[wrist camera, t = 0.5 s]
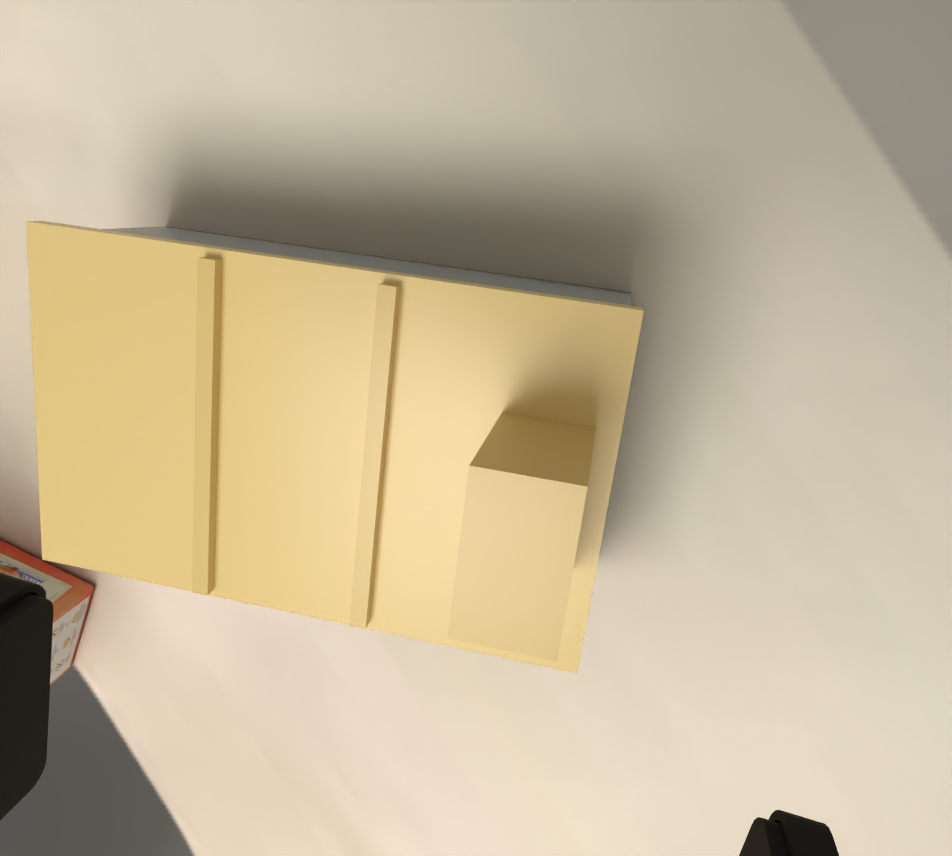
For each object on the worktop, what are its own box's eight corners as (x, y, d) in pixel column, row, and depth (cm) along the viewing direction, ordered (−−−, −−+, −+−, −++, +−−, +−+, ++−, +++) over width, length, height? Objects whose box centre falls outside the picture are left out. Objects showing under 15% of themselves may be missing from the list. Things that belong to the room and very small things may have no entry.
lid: (643, 307, 24) (648, 340, 18) (578, 660, 28) (565, 785, 22) (43, 221, 27) (-124, 224, 21) (56, 550, 31) (-83, 633, 25)
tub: (630, 292, 31) (631, 315, 24) (582, 565, 34) (571, 651, 28) (165, 226, 34) (51, 231, 27) (164, 485, 37) (63, 545, 30)
